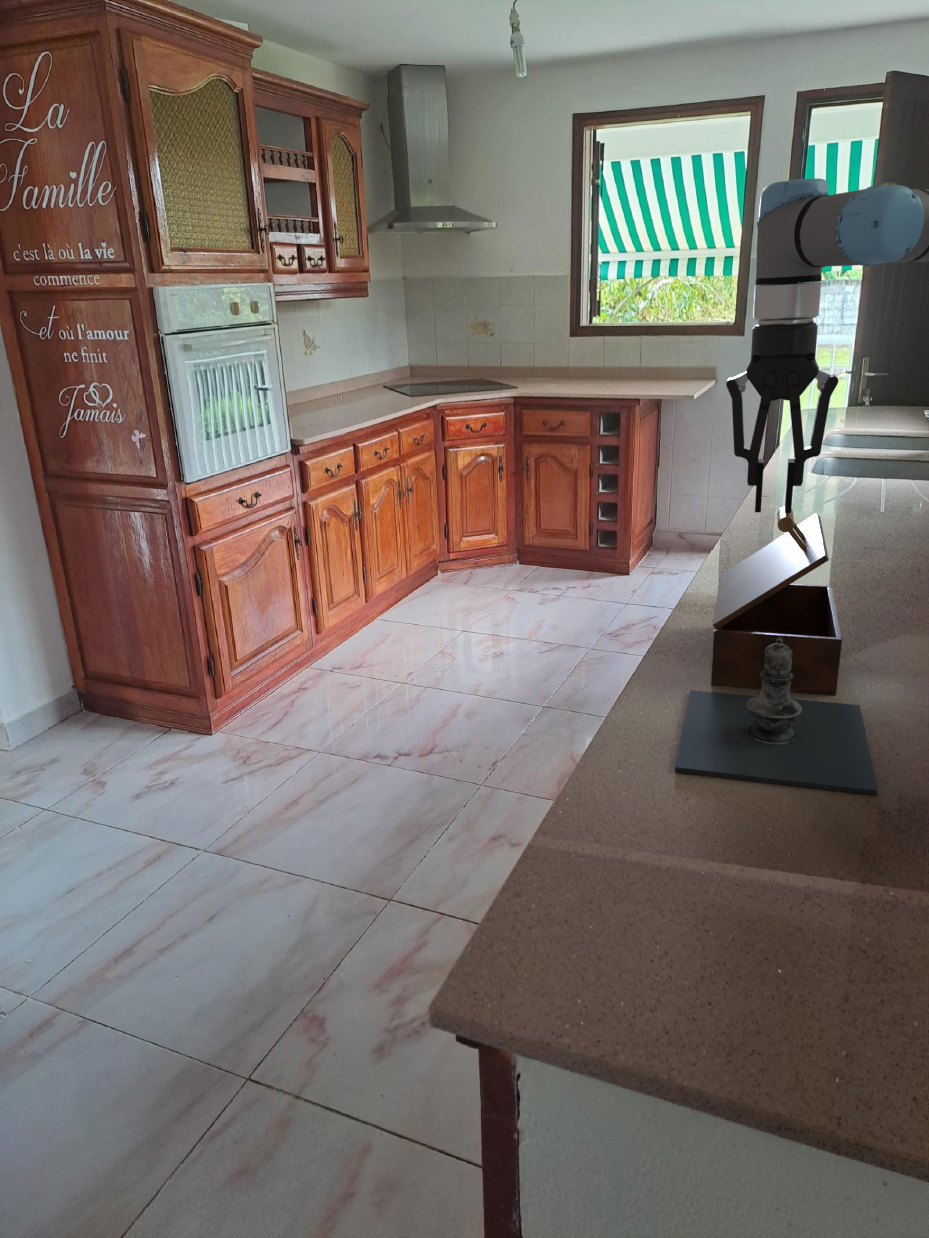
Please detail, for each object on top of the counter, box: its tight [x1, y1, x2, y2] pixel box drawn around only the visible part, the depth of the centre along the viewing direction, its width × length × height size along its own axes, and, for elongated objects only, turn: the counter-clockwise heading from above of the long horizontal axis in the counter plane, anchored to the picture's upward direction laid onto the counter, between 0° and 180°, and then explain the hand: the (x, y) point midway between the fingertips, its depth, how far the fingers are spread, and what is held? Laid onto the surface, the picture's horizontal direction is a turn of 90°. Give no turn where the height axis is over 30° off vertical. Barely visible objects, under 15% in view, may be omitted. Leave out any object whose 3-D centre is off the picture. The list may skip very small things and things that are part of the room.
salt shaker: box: [747, 637, 802, 745], centre depth 99 cm, size 6×6×12 cm
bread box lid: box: [712, 505, 830, 630], centre depth 118 cm, size 16×21×6 cm
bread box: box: [710, 583, 843, 696], centre depth 121 cm, size 15×21×8 cm
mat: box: [674, 689, 878, 796], centre depth 101 cm, size 20×20×1 cm
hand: (772, 509), depth 115 cm, fingers open, 3 cm apart
